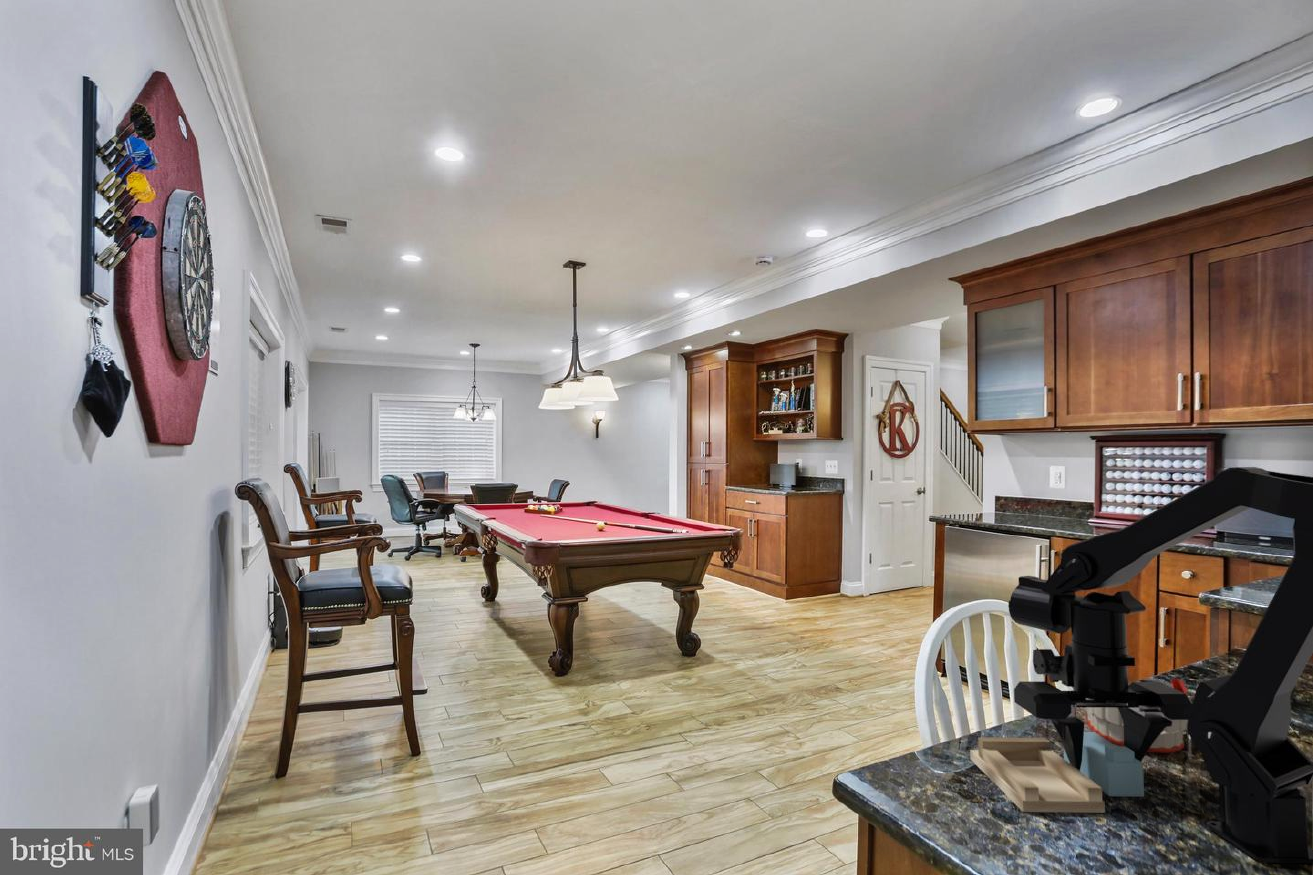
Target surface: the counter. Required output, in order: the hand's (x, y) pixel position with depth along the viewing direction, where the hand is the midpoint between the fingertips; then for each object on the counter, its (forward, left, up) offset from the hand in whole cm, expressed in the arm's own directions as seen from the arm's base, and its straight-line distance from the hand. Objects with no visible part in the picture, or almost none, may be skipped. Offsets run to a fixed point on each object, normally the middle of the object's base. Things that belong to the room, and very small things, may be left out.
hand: (1103, 769), depth 80 cm
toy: (+11, -12, -1) cm, 16 cm away
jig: (-2, +9, -1) cm, 10 cm away
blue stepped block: (0, 0, -1) cm, 1 cm away
